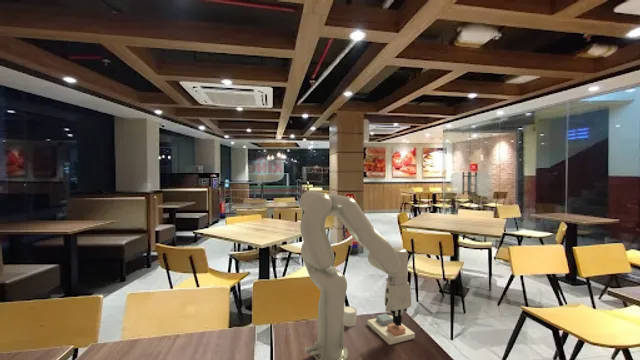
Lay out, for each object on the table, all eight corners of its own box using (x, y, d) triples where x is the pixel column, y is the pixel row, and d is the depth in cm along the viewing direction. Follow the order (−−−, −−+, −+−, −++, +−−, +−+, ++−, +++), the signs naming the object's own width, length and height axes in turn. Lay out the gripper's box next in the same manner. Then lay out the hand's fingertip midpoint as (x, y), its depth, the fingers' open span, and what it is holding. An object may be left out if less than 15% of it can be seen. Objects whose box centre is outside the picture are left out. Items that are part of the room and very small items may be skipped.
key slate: (383, 326, 125) (383, 321, 125) (376, 321, 130) (376, 315, 130) (393, 324, 127) (393, 318, 127) (386, 319, 132) (386, 313, 132)
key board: (389, 347, 115) (389, 339, 115) (367, 326, 130) (367, 319, 130) (414, 340, 120) (414, 333, 120) (390, 321, 135) (390, 315, 135)
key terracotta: (394, 336, 118) (395, 330, 118) (387, 330, 123) (387, 324, 123) (405, 334, 120) (405, 328, 120) (397, 327, 125) (397, 322, 124)
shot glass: (355, 330, 127) (356, 314, 127) (339, 328, 128) (340, 312, 128) (357, 322, 134) (357, 306, 134) (341, 320, 135) (342, 305, 135)
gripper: (387, 285, 114) (387, 332, 115) (419, 279, 120) (418, 325, 121) (376, 278, 121) (376, 323, 122) (406, 273, 127) (406, 316, 128)
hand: (397, 324), depth 121 cm, fingers closed
